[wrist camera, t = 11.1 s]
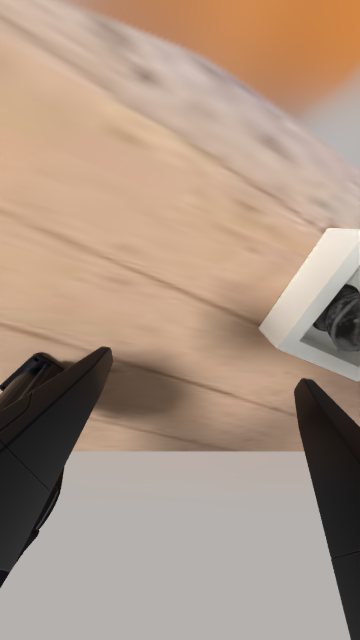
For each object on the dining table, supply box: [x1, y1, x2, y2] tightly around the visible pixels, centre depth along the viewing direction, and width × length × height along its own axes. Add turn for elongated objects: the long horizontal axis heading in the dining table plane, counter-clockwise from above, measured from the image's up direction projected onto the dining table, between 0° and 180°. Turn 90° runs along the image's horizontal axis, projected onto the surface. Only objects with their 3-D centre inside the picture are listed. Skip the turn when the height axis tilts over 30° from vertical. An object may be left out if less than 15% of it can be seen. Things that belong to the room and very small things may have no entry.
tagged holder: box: [258, 228, 360, 382], centre depth 21 cm, size 11×12×4 cm
